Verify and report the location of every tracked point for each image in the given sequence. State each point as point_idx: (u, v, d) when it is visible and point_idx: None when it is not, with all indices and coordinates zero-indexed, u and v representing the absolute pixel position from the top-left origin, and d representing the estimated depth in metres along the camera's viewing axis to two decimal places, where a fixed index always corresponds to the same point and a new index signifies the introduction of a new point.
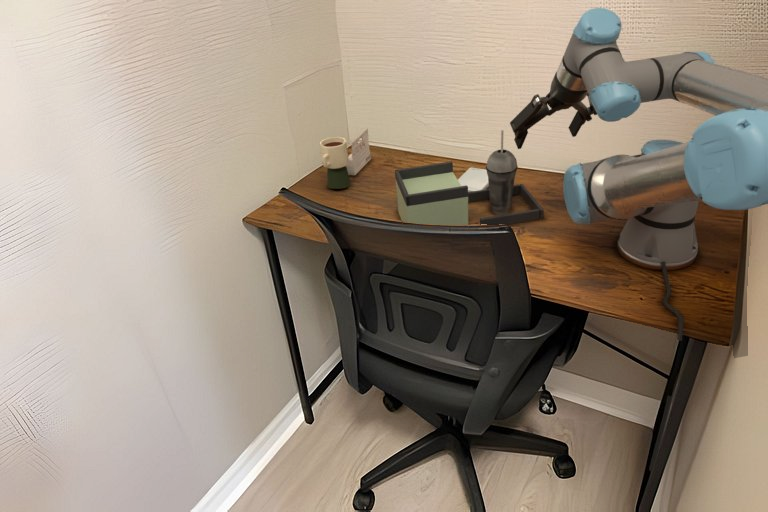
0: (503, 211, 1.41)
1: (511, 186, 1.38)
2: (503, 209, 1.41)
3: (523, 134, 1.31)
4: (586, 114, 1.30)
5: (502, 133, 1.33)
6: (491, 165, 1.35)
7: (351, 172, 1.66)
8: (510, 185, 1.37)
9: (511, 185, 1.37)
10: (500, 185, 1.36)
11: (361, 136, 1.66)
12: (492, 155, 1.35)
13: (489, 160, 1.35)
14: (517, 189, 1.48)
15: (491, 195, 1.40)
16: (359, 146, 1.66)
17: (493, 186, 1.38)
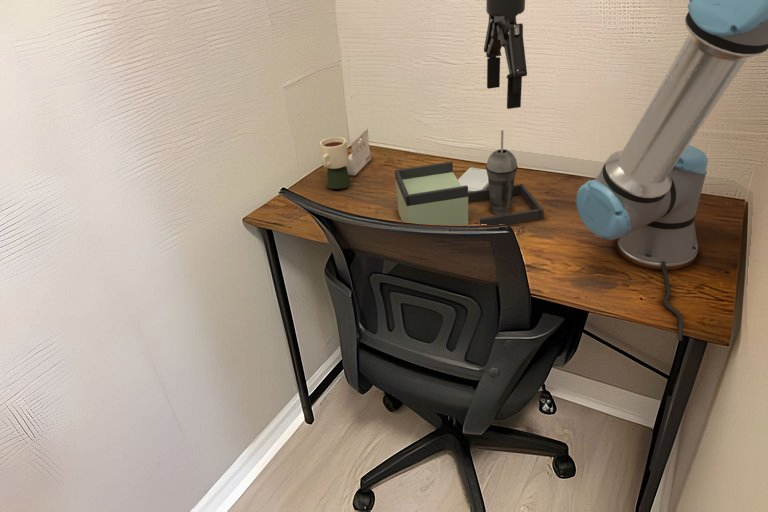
0: (503, 211, 1.41)
1: (511, 186, 1.38)
2: (503, 209, 1.41)
3: None
4: None
5: (502, 133, 1.33)
6: (491, 165, 1.35)
7: (351, 172, 1.66)
8: (510, 185, 1.37)
9: (511, 185, 1.37)
10: (500, 185, 1.36)
11: (361, 136, 1.66)
12: (492, 155, 1.35)
13: (489, 160, 1.35)
14: (517, 189, 1.48)
15: (491, 195, 1.40)
16: (359, 146, 1.66)
17: (493, 186, 1.38)
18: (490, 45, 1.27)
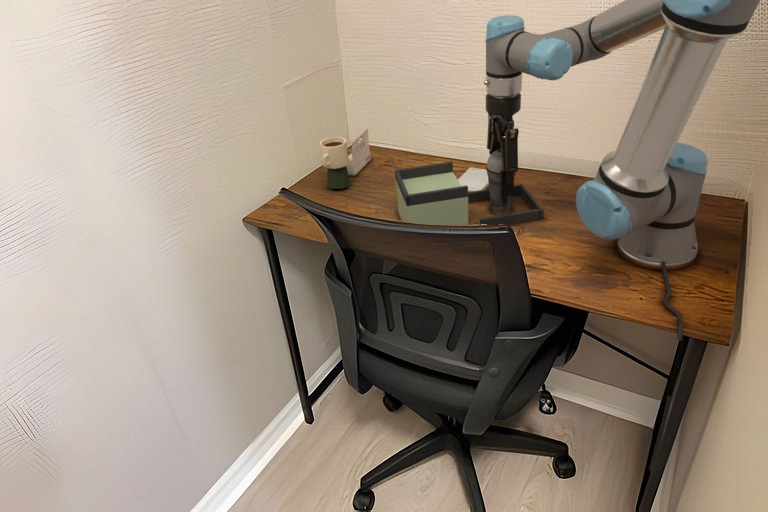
0: (503, 211, 1.41)
1: None
2: (503, 209, 1.41)
3: None
4: None
5: None
6: (491, 165, 1.35)
7: (351, 172, 1.66)
8: None
9: None
10: (500, 185, 1.36)
11: (361, 136, 1.66)
12: (492, 155, 1.35)
13: (489, 160, 1.35)
14: (517, 189, 1.48)
15: (491, 195, 1.40)
16: (359, 146, 1.66)
17: (493, 186, 1.38)
18: (492, 142, 1.37)
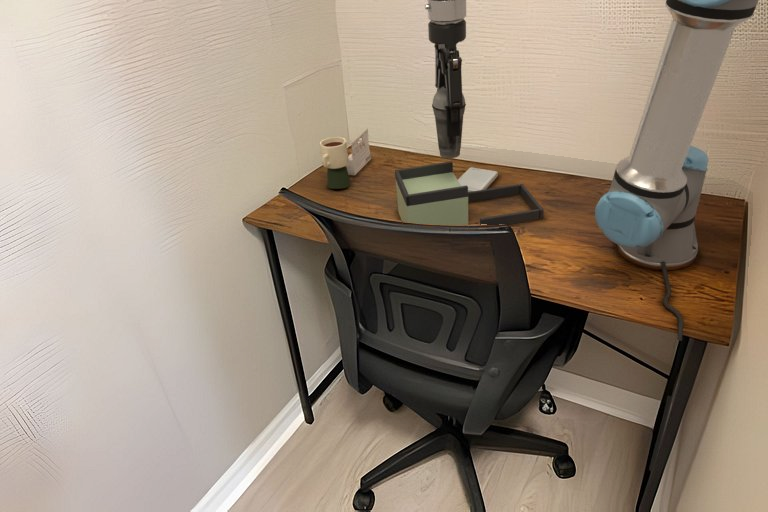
0: (451, 154, 1.31)
1: None
2: (451, 152, 1.31)
3: (458, 111, 1.24)
4: None
5: None
6: (436, 101, 1.25)
7: (351, 172, 1.66)
8: None
9: None
10: (446, 124, 1.27)
11: (361, 136, 1.66)
12: (438, 91, 1.25)
13: (435, 97, 1.26)
14: (517, 189, 1.48)
15: (438, 136, 1.30)
16: (359, 146, 1.66)
17: (440, 126, 1.28)
18: (439, 78, 1.27)
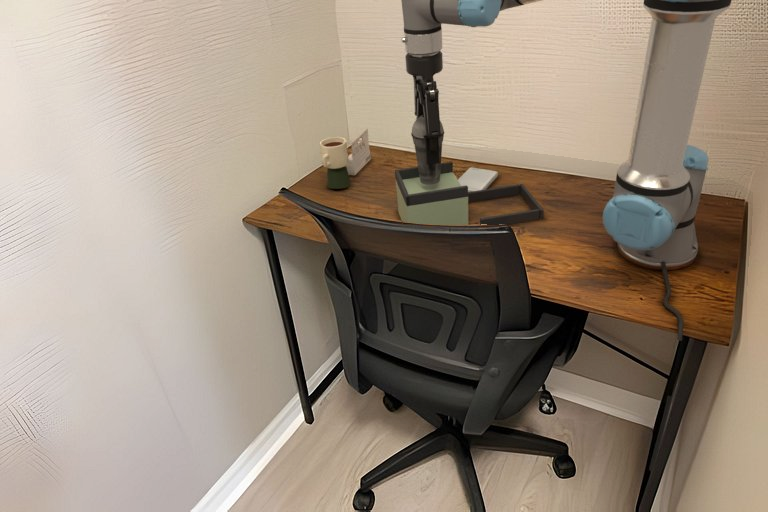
0: (431, 181, 1.34)
1: None
2: (431, 178, 1.33)
3: (437, 139, 1.26)
4: None
5: None
6: (415, 130, 1.27)
7: (351, 172, 1.66)
8: None
9: None
10: (425, 152, 1.29)
11: (361, 136, 1.66)
12: (417, 120, 1.28)
13: (414, 125, 1.28)
14: (517, 189, 1.48)
15: (418, 164, 1.32)
16: (359, 146, 1.66)
17: (419, 153, 1.30)
18: (417, 107, 1.30)
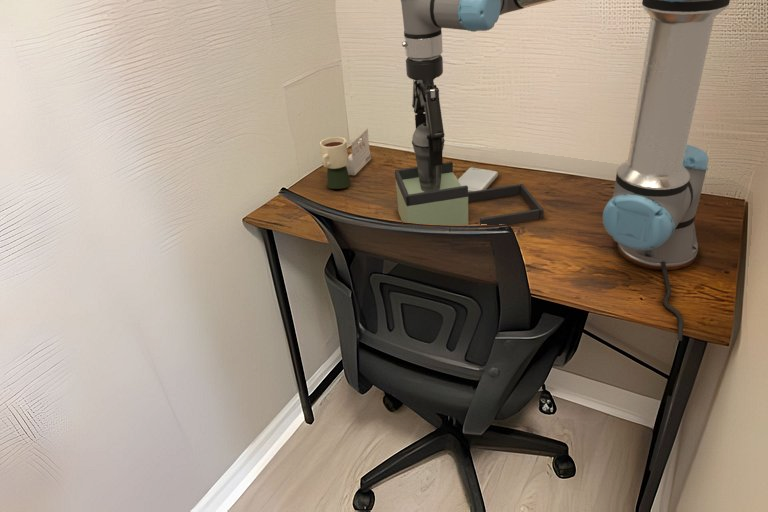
0: (432, 188, 1.35)
1: None
2: (431, 186, 1.34)
3: (440, 140, 1.23)
4: None
5: None
6: (416, 138, 1.28)
7: (351, 172, 1.66)
8: None
9: None
10: (426, 160, 1.30)
11: (361, 136, 1.66)
12: (417, 128, 1.29)
13: (414, 134, 1.29)
14: (517, 189, 1.48)
15: (419, 171, 1.33)
16: (359, 146, 1.66)
17: (419, 161, 1.31)
18: (416, 103, 1.31)
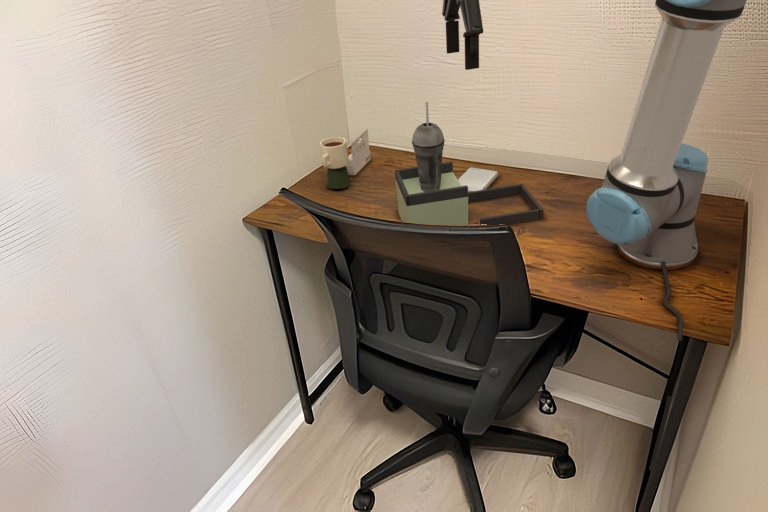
0: (432, 188, 1.35)
1: (438, 161, 1.31)
2: (431, 186, 1.34)
3: (477, 40, 1.16)
4: None
5: (427, 105, 1.27)
6: (416, 138, 1.28)
7: (351, 172, 1.66)
8: (438, 161, 1.31)
9: (438, 160, 1.31)
10: (426, 160, 1.30)
11: (361, 136, 1.66)
12: (417, 128, 1.29)
13: (414, 134, 1.29)
14: (517, 189, 1.48)
15: (419, 171, 1.33)
16: (359, 146, 1.66)
17: (420, 161, 1.31)
18: (448, 7, 1.24)
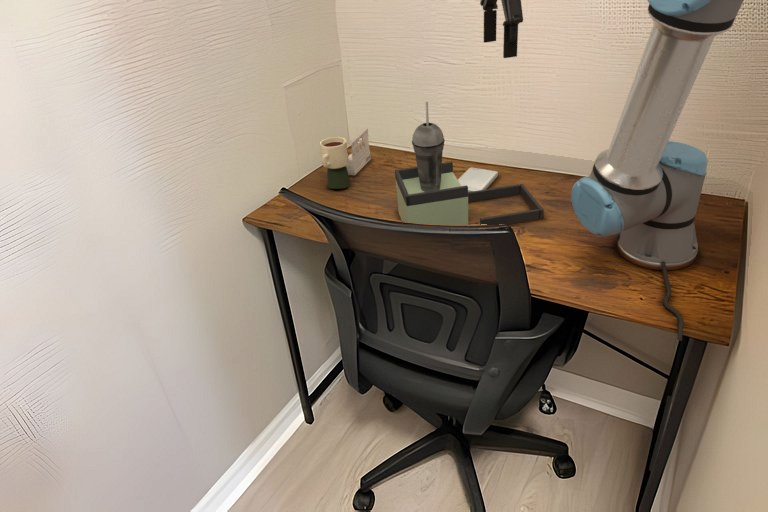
0: (432, 188, 1.35)
1: (438, 161, 1.31)
2: (431, 186, 1.34)
3: (516, 29, 1.19)
4: None
5: (427, 105, 1.27)
6: (416, 138, 1.28)
7: (351, 172, 1.66)
8: (438, 161, 1.31)
9: (438, 160, 1.31)
10: (426, 160, 1.30)
11: (361, 136, 1.66)
12: (417, 128, 1.29)
13: (414, 134, 1.29)
14: (517, 189, 1.48)
15: (419, 171, 1.33)
16: (359, 146, 1.66)
17: (420, 161, 1.31)
18: None
